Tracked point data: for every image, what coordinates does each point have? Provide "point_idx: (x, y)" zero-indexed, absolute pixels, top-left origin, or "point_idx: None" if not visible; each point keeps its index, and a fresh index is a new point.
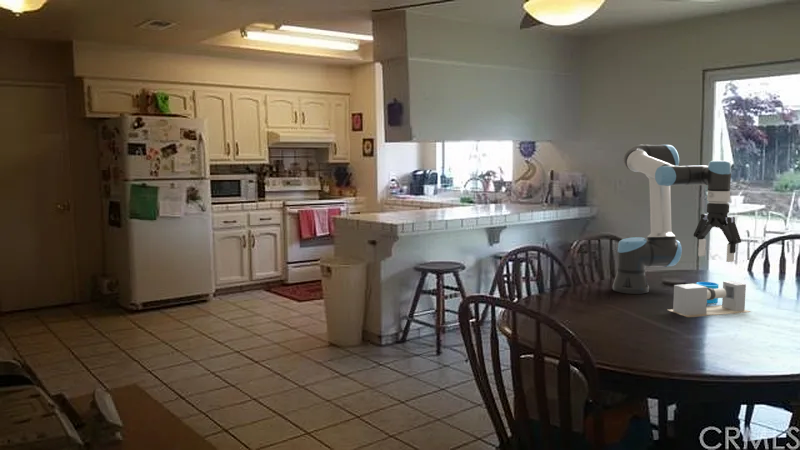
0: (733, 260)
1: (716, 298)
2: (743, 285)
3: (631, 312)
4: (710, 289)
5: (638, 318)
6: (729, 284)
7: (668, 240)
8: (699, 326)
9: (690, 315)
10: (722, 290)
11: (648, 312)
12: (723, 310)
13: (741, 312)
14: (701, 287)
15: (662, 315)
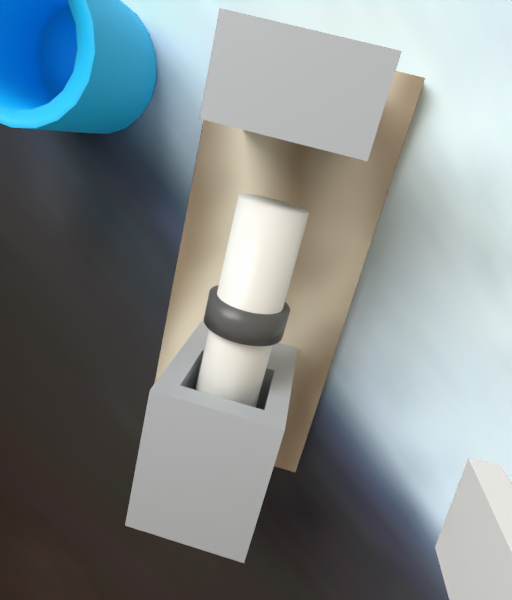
0: (505, 483)
1: (138, 47)
2: (391, 82)
3: (91, 526)
4: (257, 341)
5: (176, 578)
6: (278, 138)
7: None
8: (394, 515)
9: None
10: (289, 241)
11: (119, 478)
12: (302, 204)
13: (393, 155)
14: (266, 464)
15: None
